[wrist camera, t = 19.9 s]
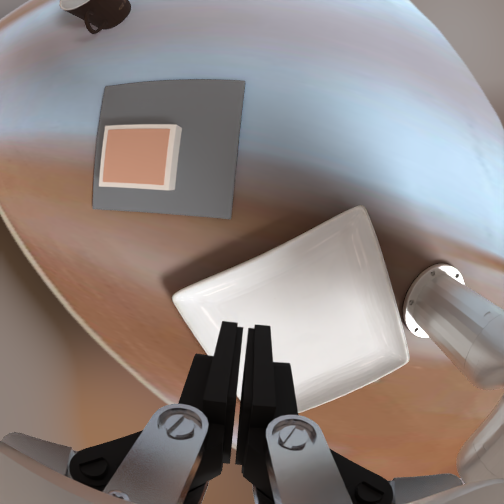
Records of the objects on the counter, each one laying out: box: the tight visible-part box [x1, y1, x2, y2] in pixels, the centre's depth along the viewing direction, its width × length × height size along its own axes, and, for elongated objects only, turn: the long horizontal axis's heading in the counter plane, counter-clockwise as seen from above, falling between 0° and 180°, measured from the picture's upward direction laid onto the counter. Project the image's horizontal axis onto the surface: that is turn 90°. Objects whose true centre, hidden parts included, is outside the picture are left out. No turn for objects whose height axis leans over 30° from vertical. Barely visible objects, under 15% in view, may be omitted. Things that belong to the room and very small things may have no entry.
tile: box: [99, 124, 182, 191], centre depth 32 cm, size 3×8×10 cm
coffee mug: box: [60, 0, 131, 34], centre depth 23 cm, size 12×9×10 cm
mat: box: [93, 79, 245, 219], centre depth 33 cm, size 20×18×1 cm
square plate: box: [172, 205, 409, 413], centre depth 38 cm, size 27×27×4 cm
